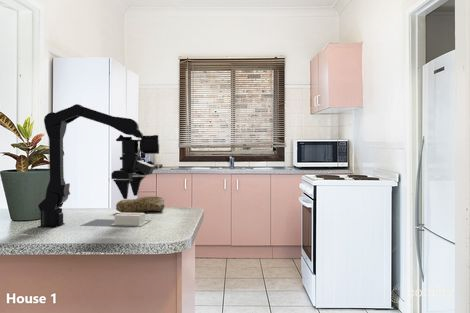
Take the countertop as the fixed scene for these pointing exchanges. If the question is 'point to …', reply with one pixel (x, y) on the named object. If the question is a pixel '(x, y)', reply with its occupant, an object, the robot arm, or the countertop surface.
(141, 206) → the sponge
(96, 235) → the countertop surface
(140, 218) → the card box
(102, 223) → the mat
